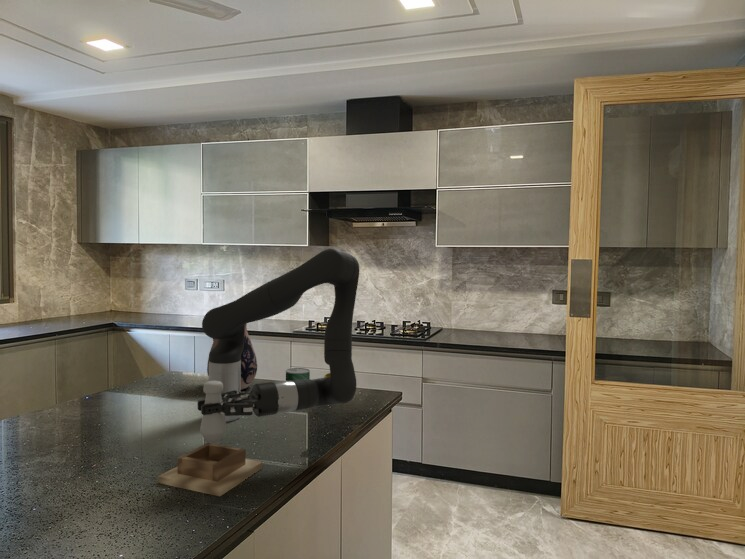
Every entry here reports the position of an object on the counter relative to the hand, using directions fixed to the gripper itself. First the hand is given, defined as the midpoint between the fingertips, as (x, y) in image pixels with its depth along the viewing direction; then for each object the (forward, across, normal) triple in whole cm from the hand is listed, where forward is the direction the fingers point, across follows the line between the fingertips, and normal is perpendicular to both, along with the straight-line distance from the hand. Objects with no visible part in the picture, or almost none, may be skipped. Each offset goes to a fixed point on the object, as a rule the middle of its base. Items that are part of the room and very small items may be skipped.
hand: (200, 407), depth 122 cm
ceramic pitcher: (-27, -75, +16) cm, 81 cm away
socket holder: (-3, 0, +16) cm, 16 cm away
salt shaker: (-3, 0, +8) cm, 8 cm away
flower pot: (-58, -49, +16) cm, 78 cm away
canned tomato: (-42, -46, +16) cm, 64 cm away
